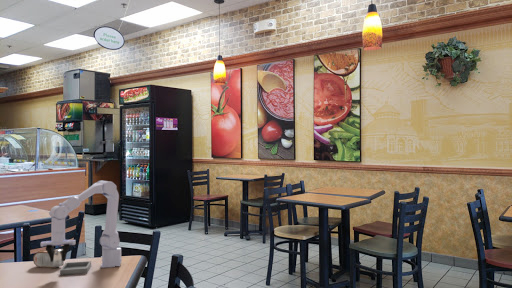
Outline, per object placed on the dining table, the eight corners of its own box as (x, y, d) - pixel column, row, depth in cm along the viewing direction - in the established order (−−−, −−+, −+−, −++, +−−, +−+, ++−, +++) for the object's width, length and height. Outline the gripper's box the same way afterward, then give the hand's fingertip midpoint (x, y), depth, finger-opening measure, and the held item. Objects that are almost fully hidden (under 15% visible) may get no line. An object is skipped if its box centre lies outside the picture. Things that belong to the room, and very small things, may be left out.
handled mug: (64, 263, 182) (64, 248, 182) (61, 267, 177) (61, 251, 177) (54, 264, 181) (54, 249, 181) (50, 267, 176) (51, 252, 176)
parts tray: (91, 265, 198) (91, 261, 198) (87, 273, 186) (87, 268, 186) (65, 267, 195) (65, 262, 195) (60, 275, 183) (60, 270, 183)
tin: (63, 266, 197) (63, 250, 197) (59, 268, 193) (60, 252, 193) (36, 265, 198) (36, 249, 198) (31, 267, 195) (32, 251, 195)
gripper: (38, 234, 174) (38, 264, 174) (73, 232, 178) (73, 262, 178) (43, 231, 181) (42, 260, 181) (76, 229, 184) (76, 257, 184)
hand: (58, 260), depth 180 cm, fingers closed on handled mug, 4 cm apart
